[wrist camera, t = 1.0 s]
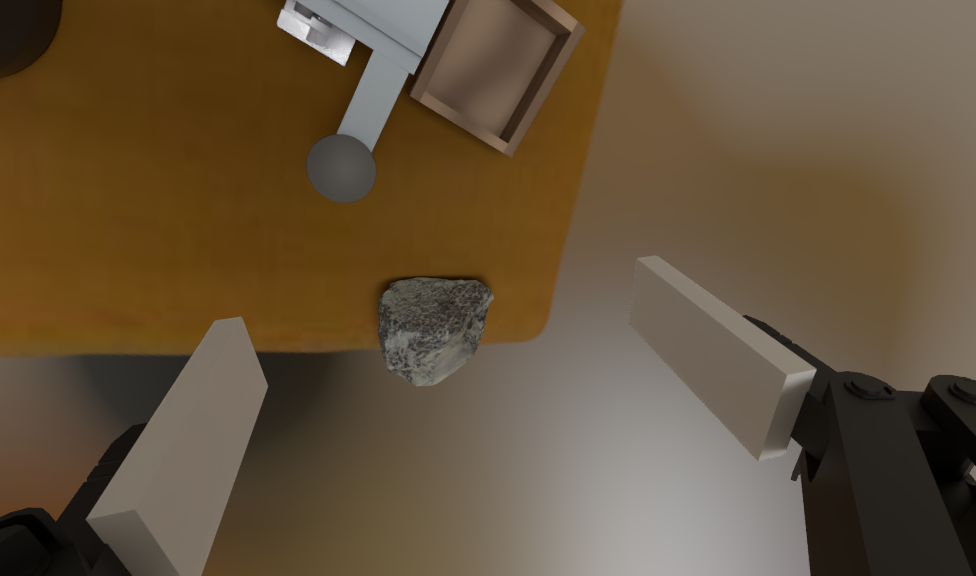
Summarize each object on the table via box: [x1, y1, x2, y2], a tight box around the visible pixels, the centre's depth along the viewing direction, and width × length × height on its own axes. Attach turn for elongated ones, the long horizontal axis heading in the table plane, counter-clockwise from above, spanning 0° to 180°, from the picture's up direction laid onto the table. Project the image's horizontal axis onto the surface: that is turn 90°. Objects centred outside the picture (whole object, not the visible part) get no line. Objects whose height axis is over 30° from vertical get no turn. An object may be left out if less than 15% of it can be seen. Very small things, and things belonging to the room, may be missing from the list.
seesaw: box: [293, 0, 449, 203], centre depth 25 cm, size 15×18×3 cm
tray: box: [408, 0, 586, 158], centre depth 34 cm, size 9×11×4 cm
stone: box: [378, 277, 494, 386], centre depth 41 cm, size 10×10×10 cm
